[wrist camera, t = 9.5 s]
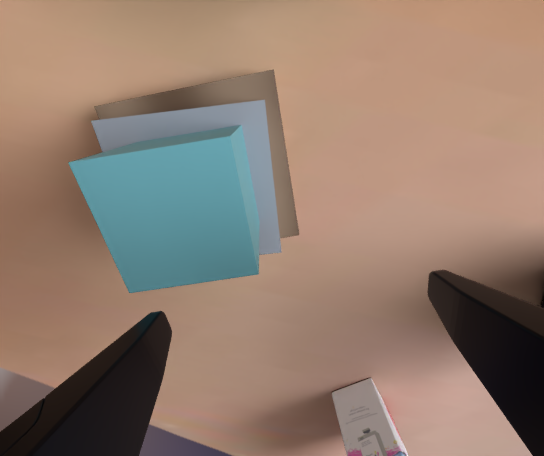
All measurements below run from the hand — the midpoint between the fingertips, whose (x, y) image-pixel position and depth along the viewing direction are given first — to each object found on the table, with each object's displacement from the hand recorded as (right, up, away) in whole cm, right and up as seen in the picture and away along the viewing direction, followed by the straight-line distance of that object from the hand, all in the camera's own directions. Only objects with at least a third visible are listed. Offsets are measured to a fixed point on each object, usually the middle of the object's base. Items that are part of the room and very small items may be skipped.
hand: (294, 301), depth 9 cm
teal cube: (-4, +5, +5) cm, 8 cm away
